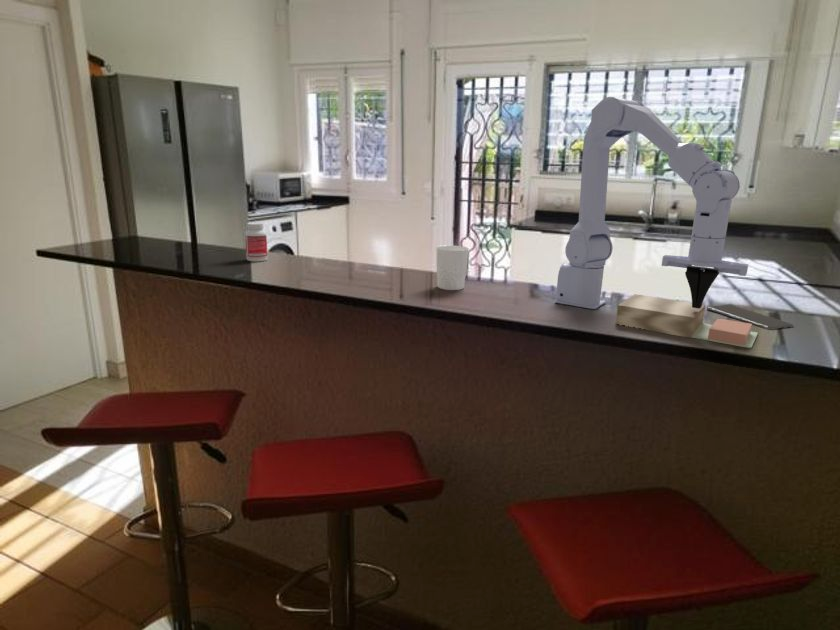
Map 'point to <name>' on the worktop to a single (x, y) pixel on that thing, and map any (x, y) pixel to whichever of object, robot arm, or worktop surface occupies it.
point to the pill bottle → (256, 242)
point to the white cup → (451, 267)
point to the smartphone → (749, 316)
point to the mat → (703, 334)
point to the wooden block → (660, 315)
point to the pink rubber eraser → (730, 331)
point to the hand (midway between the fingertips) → (696, 307)
